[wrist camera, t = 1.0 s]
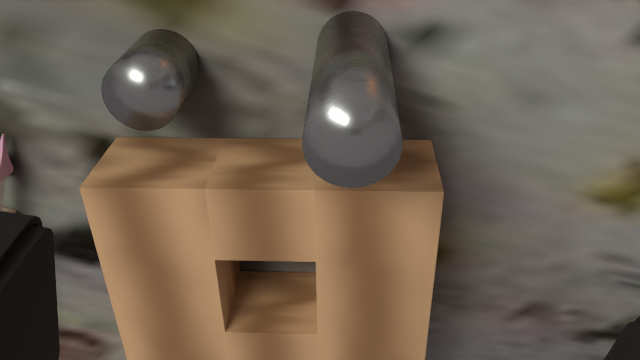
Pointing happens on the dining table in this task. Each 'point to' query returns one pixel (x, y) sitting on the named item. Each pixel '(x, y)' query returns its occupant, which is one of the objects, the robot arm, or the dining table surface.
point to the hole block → (263, 251)
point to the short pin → (151, 80)
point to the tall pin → (352, 104)
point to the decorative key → (4, 171)
